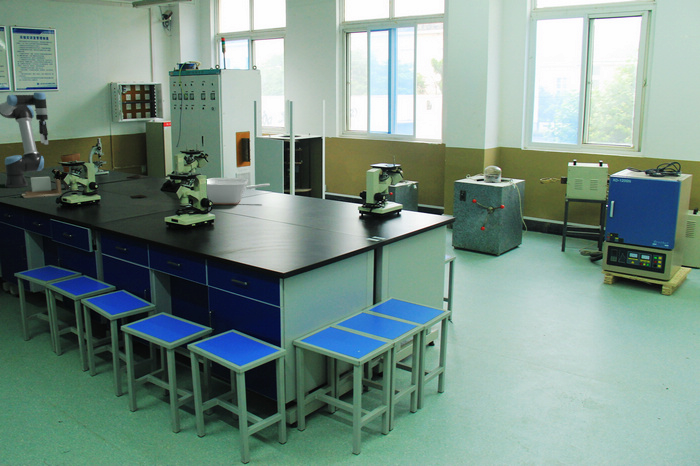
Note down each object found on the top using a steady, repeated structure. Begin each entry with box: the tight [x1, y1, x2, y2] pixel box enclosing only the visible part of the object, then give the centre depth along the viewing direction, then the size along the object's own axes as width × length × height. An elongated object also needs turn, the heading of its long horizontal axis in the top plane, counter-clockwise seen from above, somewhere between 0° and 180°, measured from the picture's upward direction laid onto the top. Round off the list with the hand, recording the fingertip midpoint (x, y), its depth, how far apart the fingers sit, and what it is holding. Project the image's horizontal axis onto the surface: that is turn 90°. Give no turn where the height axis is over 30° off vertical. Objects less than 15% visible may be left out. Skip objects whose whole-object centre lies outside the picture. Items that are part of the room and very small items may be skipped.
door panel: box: [30, 176, 52, 192], centre depth 425 cm, size 3×12×12 cm, turn 126°
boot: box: [60, 152, 81, 189], centre depth 458 cm, size 25×9×27 cm, turn 134°
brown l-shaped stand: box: [21, 169, 63, 199], centre depth 426 cm, size 12×24×17 cm, turn 126°
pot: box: [206, 177, 271, 205], centre depth 411 cm, size 29×44×15 cm, turn 91°
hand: (44, 143), depth 439 cm, fingers open, 13 cm apart
